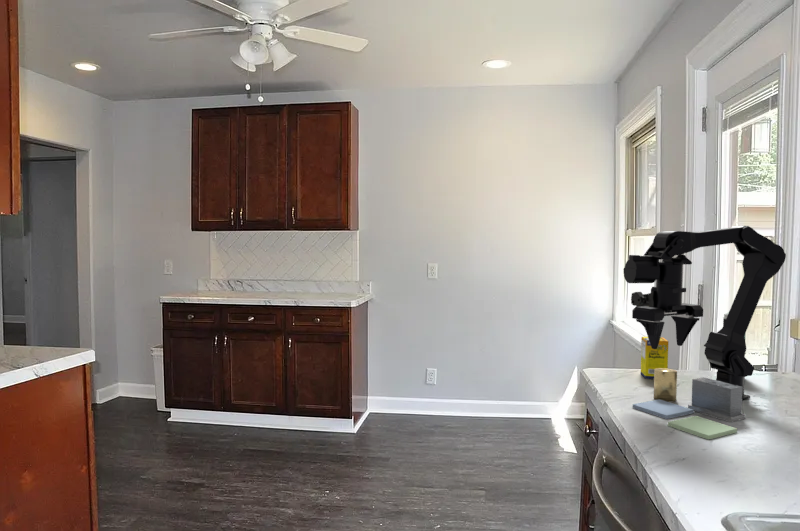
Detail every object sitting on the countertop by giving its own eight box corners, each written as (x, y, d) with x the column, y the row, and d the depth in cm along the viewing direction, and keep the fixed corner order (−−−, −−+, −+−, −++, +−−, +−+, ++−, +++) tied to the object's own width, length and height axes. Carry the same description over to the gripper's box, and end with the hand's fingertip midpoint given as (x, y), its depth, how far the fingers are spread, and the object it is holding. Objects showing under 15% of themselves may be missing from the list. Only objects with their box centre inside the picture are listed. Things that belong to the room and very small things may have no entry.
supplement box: (668, 380, 155) (669, 340, 154) (644, 378, 156) (645, 340, 155) (662, 374, 161) (663, 337, 160) (640, 373, 162) (641, 336, 161)
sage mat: (695, 419, 121) (696, 415, 121) (737, 432, 113) (737, 428, 113) (667, 425, 117) (668, 421, 117) (708, 439, 109) (708, 435, 109)
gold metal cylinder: (662, 395, 140) (663, 367, 140) (680, 400, 136) (681, 371, 135) (649, 397, 138) (649, 369, 138) (667, 403, 133) (667, 373, 133)
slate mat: (659, 402, 134) (659, 399, 134) (693, 413, 126) (693, 409, 126) (632, 407, 130) (632, 404, 130) (666, 419, 122) (666, 415, 122)
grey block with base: (702, 406, 131) (703, 376, 130) (745, 418, 122) (746, 386, 122) (688, 409, 129) (688, 379, 128) (730, 422, 120) (731, 389, 119)
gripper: (665, 279, 147) (663, 338, 147) (614, 282, 138) (613, 344, 139) (705, 282, 137) (703, 346, 138) (653, 285, 128) (651, 353, 129)
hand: (667, 347), depth 136 cm, fingers open, 9 cm apart
